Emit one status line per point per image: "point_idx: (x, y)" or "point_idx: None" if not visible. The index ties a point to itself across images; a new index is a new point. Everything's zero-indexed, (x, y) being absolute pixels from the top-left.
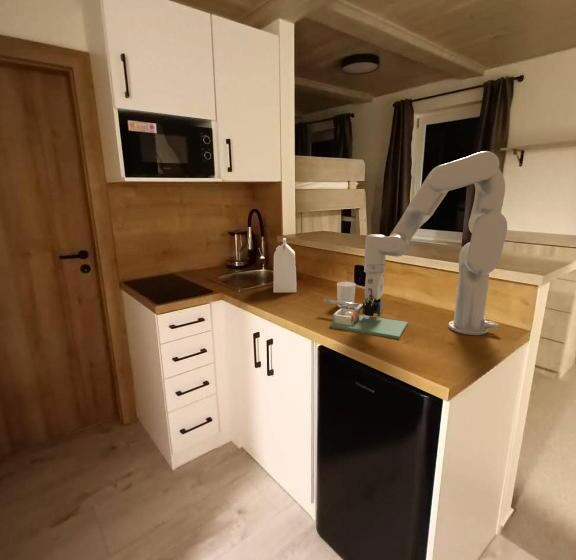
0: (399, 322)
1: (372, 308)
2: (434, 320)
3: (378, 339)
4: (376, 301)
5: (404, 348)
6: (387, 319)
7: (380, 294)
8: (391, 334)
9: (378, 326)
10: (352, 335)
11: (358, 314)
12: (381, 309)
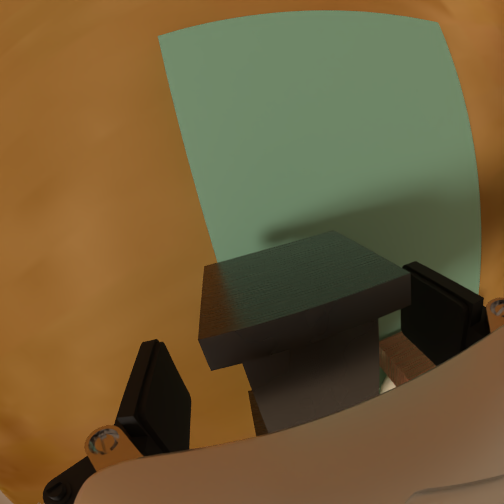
0: (212, 75)
1: (462, 296)
2: (5, 10)
3: (486, 121)
4: (167, 418)
5: (471, 8)
6: (211, 193)
7: (436, 435)
8: (449, 63)
9: (403, 177)
10: (500, 247)
11: (421, 359)
12: (284, 265)
